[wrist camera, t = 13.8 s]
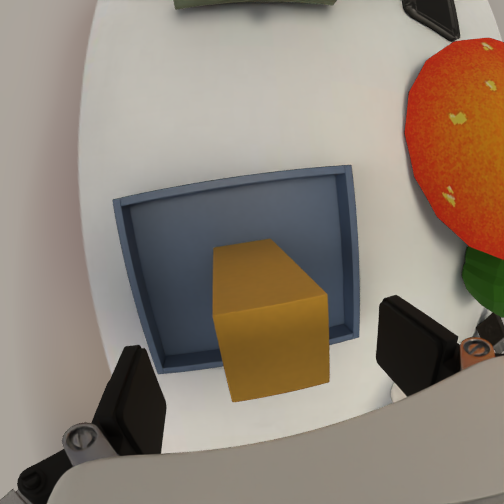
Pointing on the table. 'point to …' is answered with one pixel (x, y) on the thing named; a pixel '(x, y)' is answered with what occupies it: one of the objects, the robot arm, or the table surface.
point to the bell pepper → (485, 279)
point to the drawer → (195, 0)
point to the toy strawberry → (462, 139)
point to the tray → (228, 233)
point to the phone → (435, 16)
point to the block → (268, 321)
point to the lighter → (493, 332)
